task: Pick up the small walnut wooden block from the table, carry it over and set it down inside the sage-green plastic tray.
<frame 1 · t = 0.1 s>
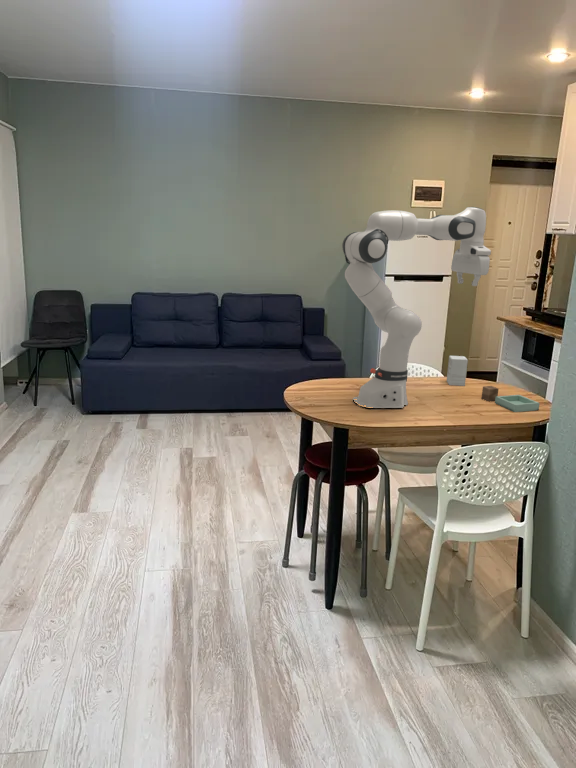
hand: (467, 284, 235), 48 cm above the table, tool pointing down, fingers open, 8 cm apart
walnut block: (489, 399, 246), on the table
supplement box: (455, 384, 270), on the table
sage tray: (516, 406, 238), on the table
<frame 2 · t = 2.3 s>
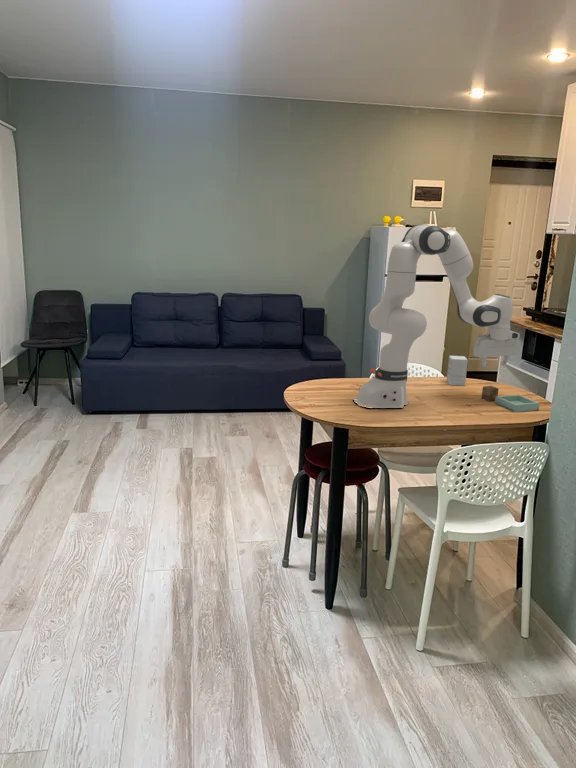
hand: (494, 366, 242), 15 cm above the table, tool pointing down, fingers open, 8 cm apart
nothing on the table moved.
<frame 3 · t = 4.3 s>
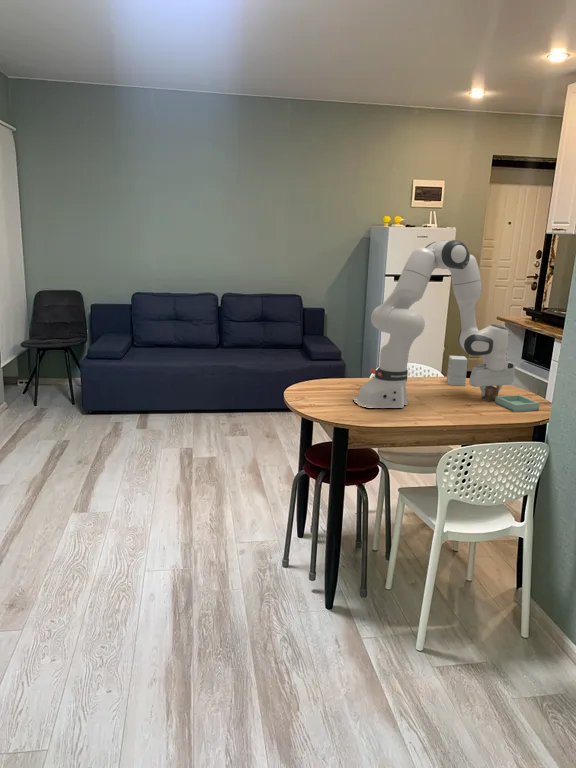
hand: (489, 395, 246), 2 cm above the table, tool pointing down, fingers closed on walnut block, 4 cm apart
walnut block: (489, 399, 246), on the table, touching gripper
everything else where it was.
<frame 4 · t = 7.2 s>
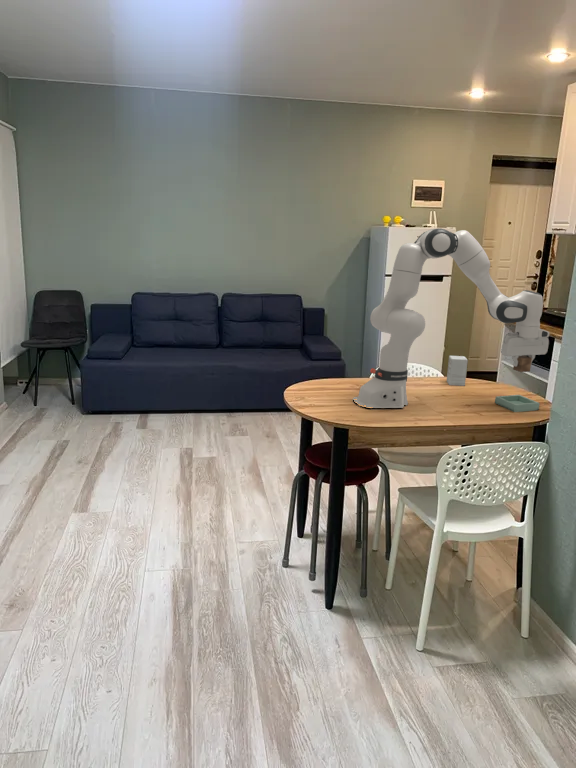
hand: (522, 365, 233), 17 cm above the table, tool pointing down, fingers closed on walnut block, 4 cm apart
walnut block: (521, 370, 234), point 15 cm above the table, touching gripper
everything else where it was.
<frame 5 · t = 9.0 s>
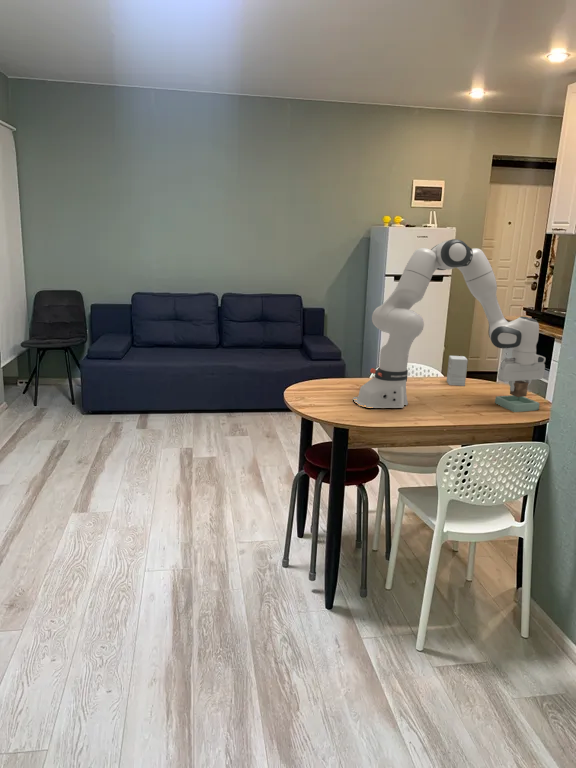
hand: (518, 390, 236), 7 cm above the table, tool pointing down, fingers closed on walnut block, 4 cm apart
walnut block: (518, 395, 237), point 5 cm above the table, touching gripper
everything else where it was.
when the fingers open (4 cm above the table, at t = 10.4 s): walnut block drops 2 cm, resting on sage tray.
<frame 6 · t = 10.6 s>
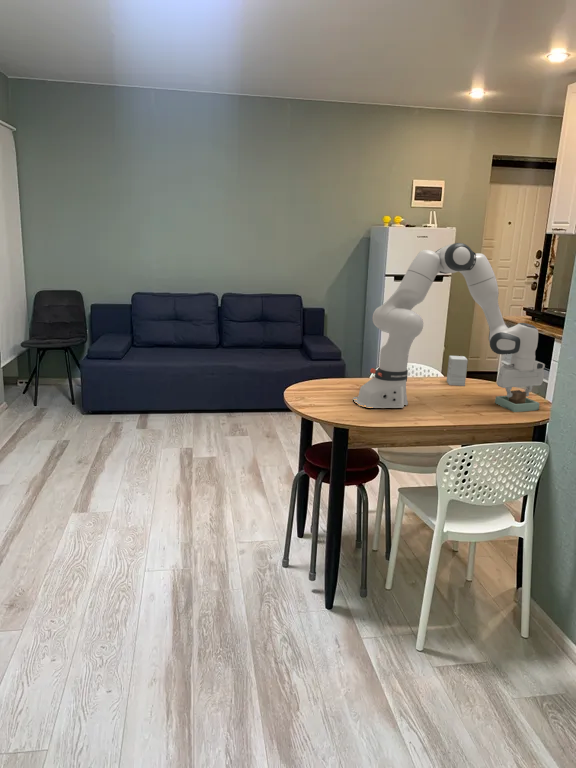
hand: (517, 396, 237), 4 cm above the table, tool pointing down, fingers open, 7 cm apart
walnut block: (516, 404, 237), point 1 cm above the table, touching sage tray
everything else where it was.
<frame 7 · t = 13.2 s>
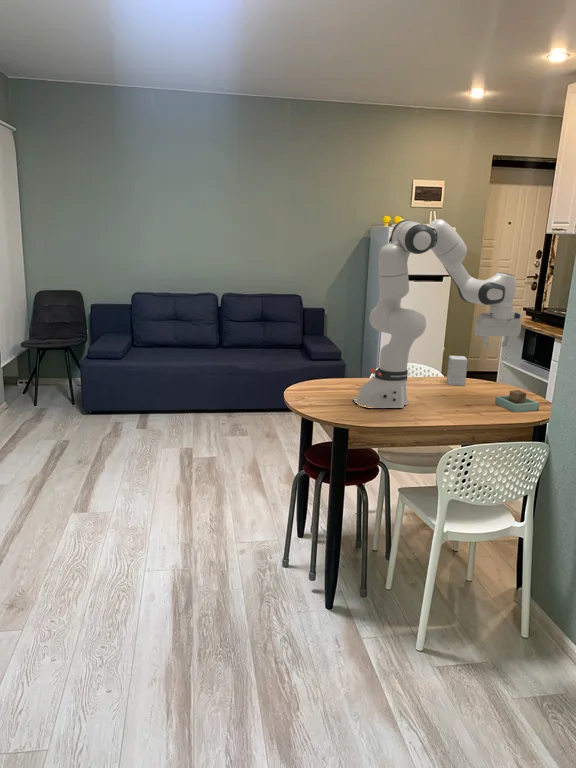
hand: (494, 346, 239), 23 cm above the table, tool pointing down, fingers open, 8 cm apart
nothing on the table moved.
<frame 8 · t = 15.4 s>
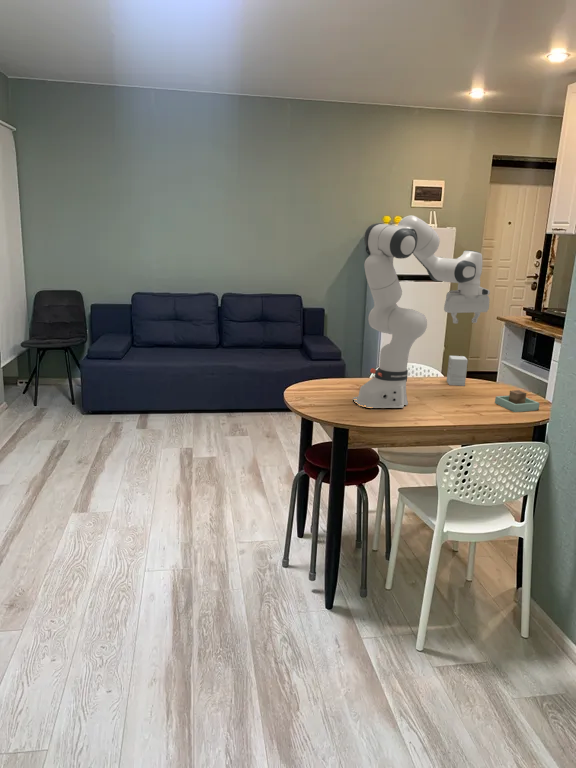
hand: (464, 322, 246), 31 cm above the table, tool pointing down, fingers open, 8 cm apart
nothing on the table moved.
at the end: walnut block 0.1 cm off-centre on the sage tray, point 0.8 cm above the sage tray's base; walnut block tilted 0°; the gripper is holding nothing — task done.
